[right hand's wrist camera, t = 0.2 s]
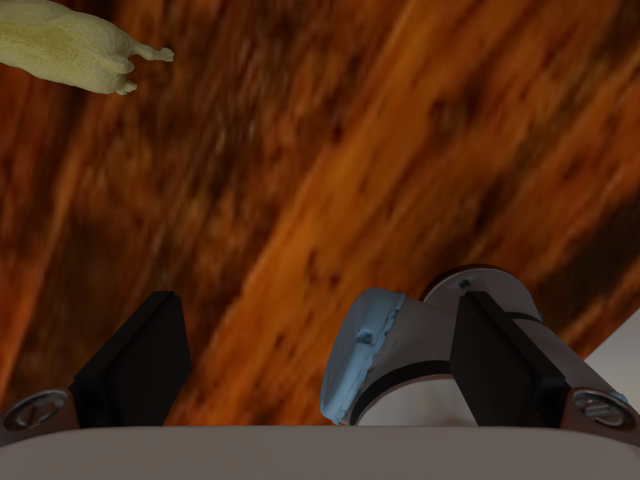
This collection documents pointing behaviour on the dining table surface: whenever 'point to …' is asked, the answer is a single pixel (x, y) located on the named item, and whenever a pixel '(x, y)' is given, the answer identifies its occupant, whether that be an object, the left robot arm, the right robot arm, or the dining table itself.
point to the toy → (69, 46)
